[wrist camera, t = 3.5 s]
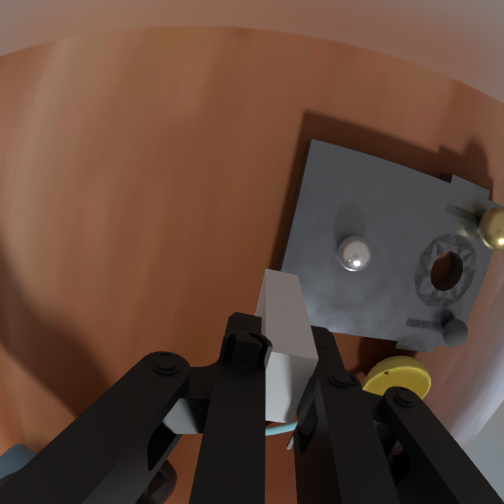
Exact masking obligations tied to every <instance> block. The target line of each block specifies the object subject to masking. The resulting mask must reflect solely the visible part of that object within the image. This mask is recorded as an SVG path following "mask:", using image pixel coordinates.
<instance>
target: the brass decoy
mask: <svg viewBox="0 0 504 504" xmlns="http://www.w3.org/2000/svg"><path fill="white" fill-rule="evenodd" d="M479 234H480V238H481V240H482V242H483V243H484V244H485V246H487V247H488V248H489V249H491V250H494V251H502V250H504V209H503V208H500V207H494V208H491V209H489V210H487V211H486V212H485V213H484V214H483V216H482V217H481V219H480V223H479Z"/></svg>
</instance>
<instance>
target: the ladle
mask: <svg viewBox="0 0 504 504" xmlns="http://www.w3.org/2000/svg"><path fill="white" fill-rule="evenodd" d="M386 371H388V375H386V374H384V372H386ZM393 386H401V387H404V388H408V389H409V390H411V391H413V392H415V393H416V394H417V395H418V396H419V397H420V398H421V399H423V398H424V396H425V395H426V394H427V393H428V391H429V389H430V386H431V378H430V376H429V374H428V372H427V370H426V369H425V367H424V365H423V364H421V363H420V362H418V361H417V360H415V359H414V358H412V357H408V356H393V357H389V358H386V359H384V360H382V361H380V362H378V363H377V364H376V365H375V366H374V367H372V369H371V370H370V372H369V373H368V375H367V376H366V378H365V380H364V383H363V387H362V389H363V390H365V391H368V392H371V393H374V394H377V395H381V396H383V395H384V393H385V391H386V390H387V389H388V388H390V387H393ZM297 423H298V421H296V422H293V423H292V424H291V423H289V424H285V425H280V426H276V427H271V428H266V434H265V435H272V434H278V433H283V432H287V431H291V430H295V427H296V425H297Z"/></svg>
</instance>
